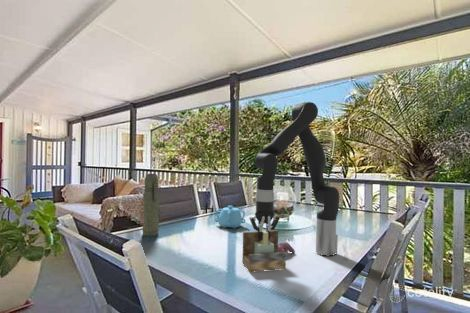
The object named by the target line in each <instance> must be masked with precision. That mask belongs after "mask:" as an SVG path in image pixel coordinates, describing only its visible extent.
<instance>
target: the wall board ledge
mask: <svg viewBox="0 0 470 313" xmlns="http://www.w3.org/2000/svg"><path fill="white" fill-rule="evenodd" d="M268 241H270V242H272V243H273V244H274V252H273V253H260V254H254V246H255V242H260V240H259V238H258V231H256V230H254V231H253V230H252V231H243V232H242V260H241V261H242V263H243V264H244V265H245V266H244V265H243V264H242V265H243V266H244V268H245V267H246V268H247V269H248V270H247V269H246V268H245V269H246V270H247V271H248V272H250V273H255V272H254V271H262V272H265V271H264V270H273V271H276V270H275V269H284V270H286V268H287V267H286V266H287V265H286V263H287V262H286V261H287V254H286V252H278V244H279V230H276V229H274V230H271V232H270V239H269V240H268Z"/></svg>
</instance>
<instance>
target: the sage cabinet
mask: <svg viewBox="0 0 470 313" xmlns="http://www.w3.org/2000/svg"><path fill="white" fill-rule="evenodd" d="M262 232H263V234H262V240H260V242H255V246H254V254H260V253H273V252H274V244H273V243H272V242H270V241H268V232H267V231H266V230H265V229H264V230H263V229H262Z"/></svg>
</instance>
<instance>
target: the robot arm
mask: <svg viewBox="0 0 470 313" xmlns="http://www.w3.org/2000/svg"><path fill="white" fill-rule="evenodd" d="M318 115H319V108H318V106H317V104H315V103H314V102H311V101H307V102H301V103H297V104H294V105H293V106H292V109H291V118H292V122H291V123H290V124H289V125H288V126H285V128H283V129H282V130H281V131H280V132H279V133H277V134H276V136H275V137H274V138H273V140H272V141H270V143H269V144H268V145H266V146H265V147H264V148H263V149H261V150H260V151H259V152H258V153H257V154H256V156H255V159H254V165H255V167H256V168H257V169H259V170H262V174H261V175H259V176H257V179H256V180H257V181H256V183H257V184H256V195H255V199H256V200H255V213H254V215H253V216H249V221H250V223H251V226H252V228H253V229H254V231H258V238H259V240H262V234H263V232H262V230H263V227H264V224H265V227H266V230H265V231H267V232H268V240H269V239H270V232H271V230H276V227H277V225H278V223H279V220H280V216H278V215H275V213H274V209H275V207H274V205H275V203H274V202H275V201H274V200H275V194H274V193H275V192H274V187H275V186H274V180H275V177H276V173H277V169H278V158H277V157H279V156H281V155H283V154H284V153H285V152H286V150H287V149H288V147H289V146H290V145H291V143H292V142H293V141H294V140H296V138H297V137H298V138H299V139H300V144H301V146H302V150H303V154H304V158H305V162H306V164H307V168H308V173H309V177H310V181H311V186H312V187H311V188H312V192H313V196H314V200H315V202H317V203H318V204H321V205H323V209H322V210H320V211H319V210H318V211H317V213H316V228H315V229H316V233H315V235H316V236H315V237H316V238H315V253H316V252H317V253H318V254H317V253H316V254H317V255H319V254H322V255H333V254H335V253H337V254H338V240H339V237H338V234H337V216H338V214H339V208H340V205H339V204H340V192H339V189H338V188H337V187H335V186H330V185H327V184H326V183H325V179H324V170H325V167H326V164H327V163H326V162H327V159H326V155H325V151H324V146H323V145H322V144H321V142H320V141H319V139H318V138H317V137H316V135H315V134H314V133H313V131H312V130H311V128H310V124H312V122H314V121H315V120H316V119H317V117H318ZM256 220H257V221H258V222H257V223H256ZM322 255H321V256H322Z"/></svg>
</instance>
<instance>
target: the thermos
mask: <svg viewBox="0 0 470 313" xmlns="http://www.w3.org/2000/svg"><path fill="white" fill-rule="evenodd" d="M158 177H159V176H158V174H156V173H147V174H146V175H145V178H144V192H143V195H142V199H143V200H142V203H143V204H142V205H143V222H142V236H143V237H148V238H149V237H150V238H151V237H156V236H158V235H159V228H160V227H159V225H160V224H159V204H160V194H159V189H158V188H159V178H158Z"/></svg>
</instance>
